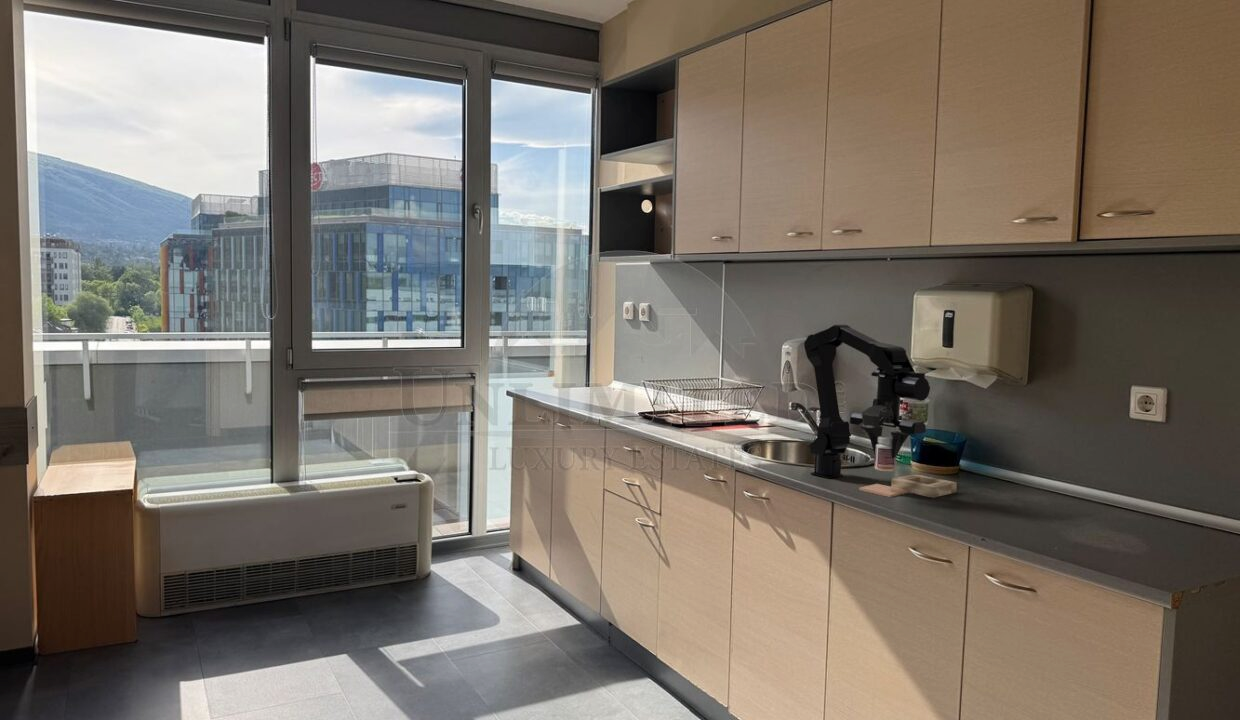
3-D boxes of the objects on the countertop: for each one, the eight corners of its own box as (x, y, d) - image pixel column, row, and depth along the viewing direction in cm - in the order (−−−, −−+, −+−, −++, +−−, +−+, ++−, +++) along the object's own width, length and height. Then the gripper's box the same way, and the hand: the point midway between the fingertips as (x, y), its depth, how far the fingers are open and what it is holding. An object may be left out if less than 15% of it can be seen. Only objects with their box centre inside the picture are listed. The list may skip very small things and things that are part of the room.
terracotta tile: (859, 489, 217) (859, 487, 217) (877, 486, 222) (877, 483, 222) (890, 497, 210) (890, 494, 210) (907, 492, 215) (907, 490, 215)
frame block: (891, 488, 220) (891, 478, 220) (914, 483, 227) (914, 473, 227) (933, 497, 211) (933, 487, 211) (956, 492, 218) (956, 482, 218)
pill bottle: (897, 471, 214) (899, 438, 214) (882, 472, 213) (884, 439, 212) (886, 467, 219) (888, 435, 218) (870, 467, 217) (872, 435, 217)
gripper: (838, 393, 216) (835, 452, 218) (903, 402, 202) (899, 466, 203) (864, 390, 223) (860, 448, 225) (928, 399, 209) (924, 461, 210)
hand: (884, 456), depth 216 cm, fingers closed on pill bottle, 5 cm apart
